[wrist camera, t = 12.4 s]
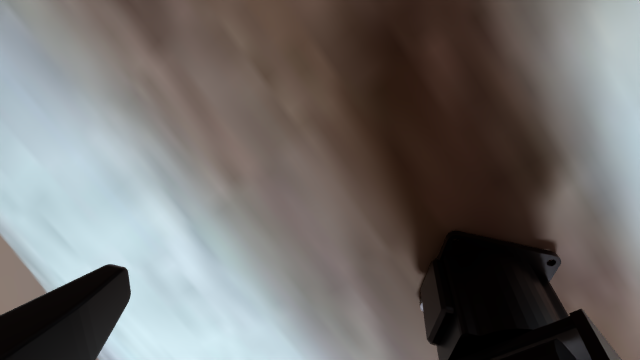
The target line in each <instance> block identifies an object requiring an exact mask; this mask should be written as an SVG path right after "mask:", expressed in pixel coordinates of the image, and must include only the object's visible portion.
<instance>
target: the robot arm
mask: <svg viewBox="0 0 640 360" xmlns="http://www.w3.org/2000/svg"><path fill="white" fill-rule="evenodd" d="M453 239H459V240H458V241H452V240H453ZM551 259H553V260H552V261H550V262H547V261H548V260H551ZM560 264H561V259H560V258H559V256H558V255H557V254H556V253H554V252H551V251H547V250H542V249H537V248H533V247H528V246H524V245H519V244H514V243H510V242H505V241H501V240H496V239H491V238H487V237H482V236H477V235H473V234H468V233H464V232H459V231H453V232H450V233H449V234H448V235H447V236H446V239H445V241H444V244H443V246H442V249H441V251H440V253H439V256H438V258H437V259H435V260H433V261H432V262H431V265H430V267H429V269H428V272H427V274H426V277H425V279H424V282H423V284H422V287H421V300H420V308H421V310H422V311H423V312H424V320H425V328H426V335H427V340H428V341H429V343H430V344H432V345H436V346H437V351H438V357H439V360H622V359H621V358H620V357H619V356H618V354H617V353H616V352H615V350H614V349H613V348H612V347H611V345H610V344H609V343H608V341H607V340H606V339H605V338H604V336H603V335H602V334H601V333H600V331H599V330H598V329H597V327H596V326H595V325H594V324H593V322H592V321H591V320H590V319H589V317H588V316H587V315H586V313H585V312H584V311H583V310H582V309H579V310H577V311H574V312H572V313H569V314H570V316H568V314H567V312H566V310H565V309H564V307H563V305H562V303H561V302H560V300H559V298H558V296H557V295H556V293H555V291H554V289H553V288H552V286H551V284H550V283H549V282H550V280H551V278H552V277H553V275H554V274H555V272H556V271H557V269H558V267H559V266H560ZM130 295H131V290H130V283H129V275H128V270H127V269H126V268H125V267H121V266H117V265H112V264H108V265H105V266H103V267H101V268H99V269H97V270H94V271H92V272H90V273H88V274H86V275H84V276H82V277H80V278H78V279H76V280H73V281H71V282H69V283H67V284H65V285H63V286H61V287H59V288H57V289H55V290H53V291H50V292H48V293H46V294H44V295H42V296H40V297H38V298H36V299H34V300H32V301H29V302H28V303H26V304H23V305H21V306H19V307H17V308H15V309H13V310H11V311H9V312H7V313H5V314H2V315H0V360H96V358H97V356H98V355H99V353H100V351H101V350H102V348H103V346H104V344H105V342H106V341H107V339H108V337H109V335H110V334H111V332H112V330H113V328H114V327H115V325H116V323H117V321H118V320H119V318H120V316H121V314H122V313H123V311H124V309H125V307H126V306H127V304H128V302H129V299H130Z"/></svg>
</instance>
